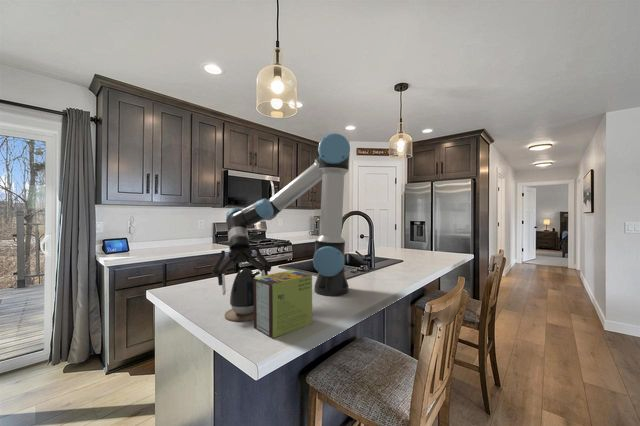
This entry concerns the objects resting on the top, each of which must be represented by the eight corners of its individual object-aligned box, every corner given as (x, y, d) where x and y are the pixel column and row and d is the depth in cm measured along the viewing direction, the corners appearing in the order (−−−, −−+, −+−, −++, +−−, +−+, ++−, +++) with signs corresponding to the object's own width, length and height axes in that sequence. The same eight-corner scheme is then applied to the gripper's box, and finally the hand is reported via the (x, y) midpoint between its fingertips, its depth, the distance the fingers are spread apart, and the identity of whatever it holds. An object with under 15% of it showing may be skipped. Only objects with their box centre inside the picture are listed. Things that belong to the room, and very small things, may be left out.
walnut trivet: (264, 306, 103) (264, 305, 103) (263, 320, 90) (263, 318, 90) (228, 308, 101) (228, 307, 101) (221, 323, 88) (221, 321, 88)
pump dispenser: (253, 319, 90) (252, 272, 89) (223, 316, 92) (223, 270, 92) (265, 308, 100) (265, 265, 99) (239, 306, 102) (238, 264, 102)
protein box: (313, 323, 88) (312, 274, 88) (272, 339, 77) (272, 283, 77) (292, 314, 95) (292, 269, 95) (252, 328, 84) (252, 277, 84)
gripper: (269, 245, 114) (279, 291, 101) (203, 249, 104) (205, 301, 91) (272, 233, 109) (283, 280, 96) (204, 236, 99) (205, 289, 86)
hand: (245, 290), depth 93 cm, fingers open, 13 cm apart
